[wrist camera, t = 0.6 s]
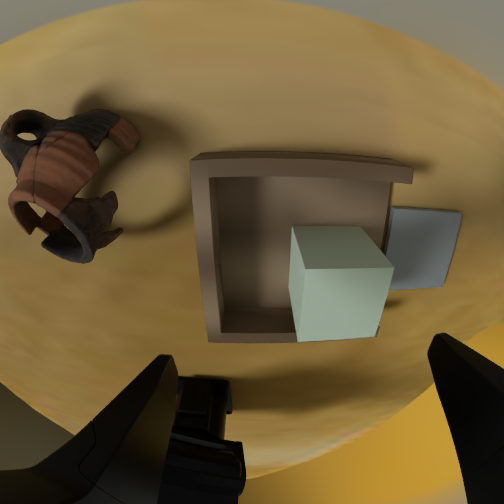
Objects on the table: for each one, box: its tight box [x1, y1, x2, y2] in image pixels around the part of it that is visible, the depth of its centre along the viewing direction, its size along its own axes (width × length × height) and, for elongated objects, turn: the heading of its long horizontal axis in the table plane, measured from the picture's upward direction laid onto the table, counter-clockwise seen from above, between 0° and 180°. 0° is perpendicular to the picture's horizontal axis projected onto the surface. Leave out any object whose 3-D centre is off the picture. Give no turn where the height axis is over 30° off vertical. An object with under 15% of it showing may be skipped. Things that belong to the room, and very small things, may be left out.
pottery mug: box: [0, 109, 140, 264], centre depth 16 cm, size 12×10×8 cm
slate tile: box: [383, 206, 462, 290], centre depth 20 cm, size 7×7×1 cm
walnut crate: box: [190, 151, 414, 343], centre depth 19 cm, size 13×13×3 cm
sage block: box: [288, 225, 394, 342], centre depth 18 cm, size 5×5×6 cm
